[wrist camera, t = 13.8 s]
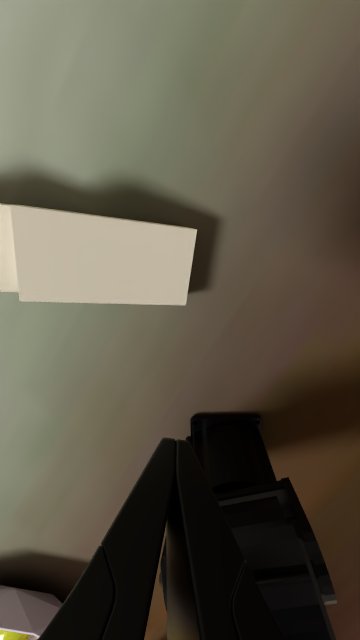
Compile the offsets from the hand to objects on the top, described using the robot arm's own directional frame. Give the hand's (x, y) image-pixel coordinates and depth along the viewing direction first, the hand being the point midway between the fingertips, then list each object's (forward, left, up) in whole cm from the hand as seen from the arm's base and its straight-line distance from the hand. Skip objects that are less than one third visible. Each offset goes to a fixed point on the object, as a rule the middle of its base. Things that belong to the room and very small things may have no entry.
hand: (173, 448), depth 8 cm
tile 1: (0, -4, -12) cm, 12 cm away
